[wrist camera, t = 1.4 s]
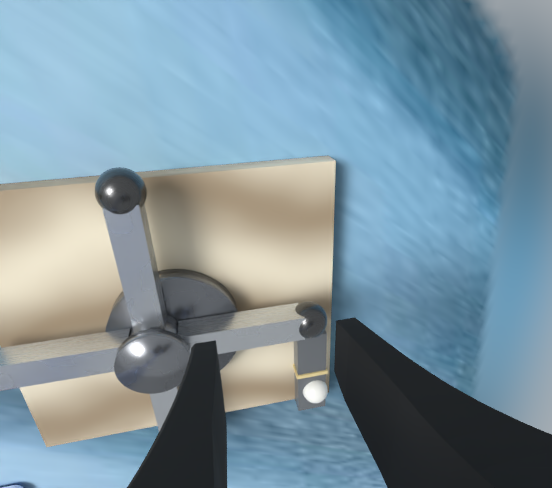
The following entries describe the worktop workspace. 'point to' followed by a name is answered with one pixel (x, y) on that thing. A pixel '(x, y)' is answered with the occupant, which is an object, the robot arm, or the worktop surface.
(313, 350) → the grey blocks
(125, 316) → the cam capstan
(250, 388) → the stand plate
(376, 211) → the worktop surface
